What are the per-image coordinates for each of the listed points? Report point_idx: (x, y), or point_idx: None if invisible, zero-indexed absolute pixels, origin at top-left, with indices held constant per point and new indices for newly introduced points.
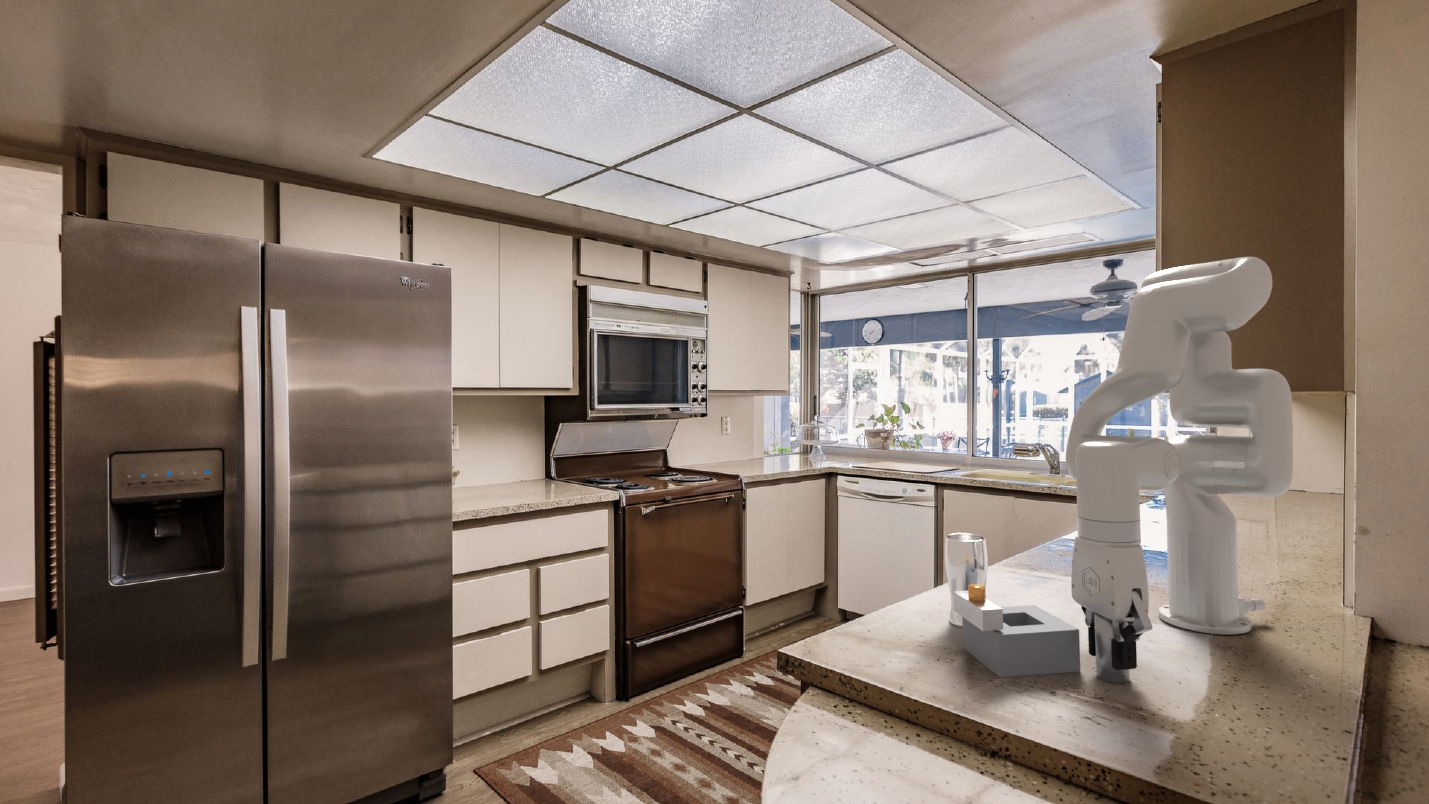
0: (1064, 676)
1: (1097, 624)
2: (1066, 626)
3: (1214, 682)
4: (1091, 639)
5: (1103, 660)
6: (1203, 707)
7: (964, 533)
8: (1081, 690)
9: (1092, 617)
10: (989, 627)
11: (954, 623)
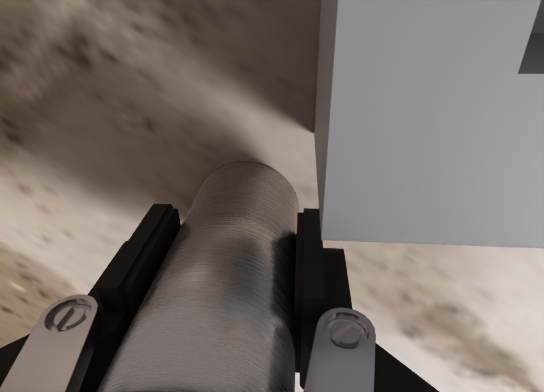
0: (284, 37)
1: (192, 329)
2: (398, 200)
3: None
4: (304, 256)
5: (206, 203)
6: (54, 287)
7: None
8: (143, 21)
9: (309, 372)
10: None
11: None
